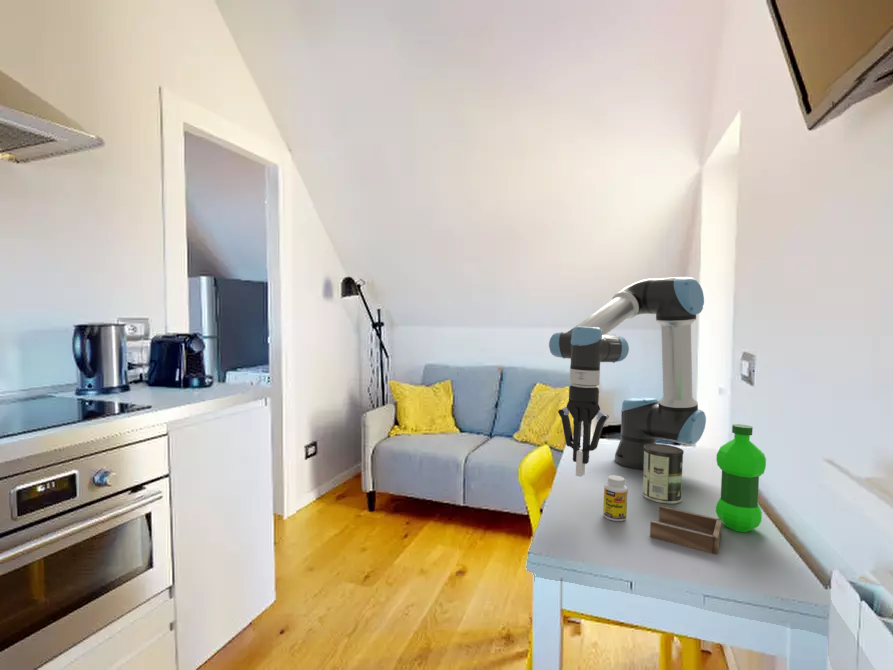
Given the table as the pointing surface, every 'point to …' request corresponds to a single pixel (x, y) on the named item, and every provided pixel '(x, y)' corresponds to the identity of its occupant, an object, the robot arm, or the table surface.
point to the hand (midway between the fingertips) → (580, 474)
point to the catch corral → (686, 535)
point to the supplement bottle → (615, 498)
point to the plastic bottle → (740, 481)
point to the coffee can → (662, 473)
